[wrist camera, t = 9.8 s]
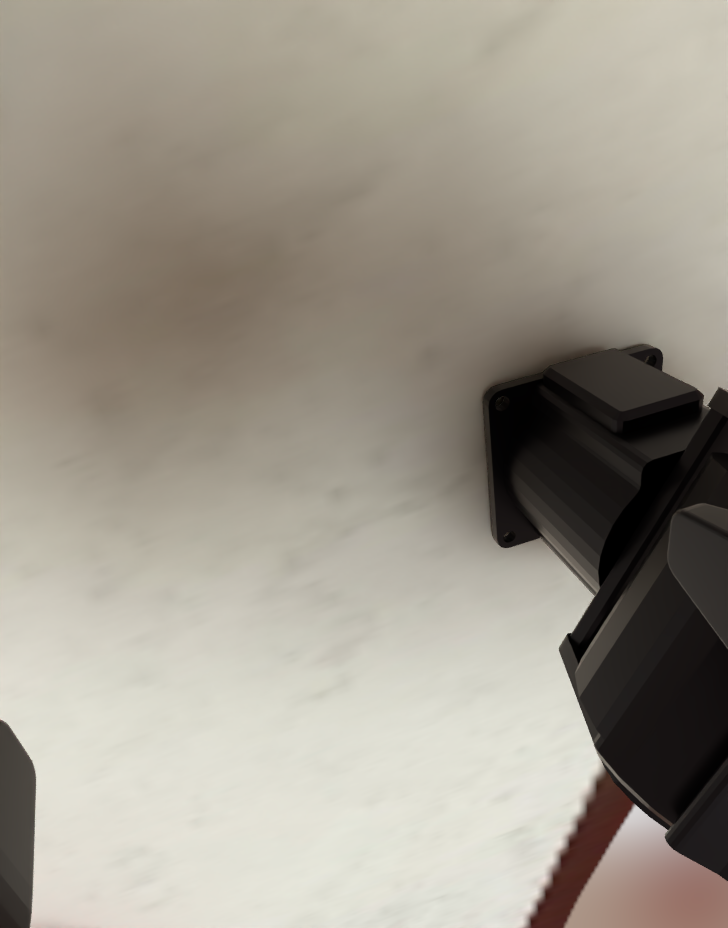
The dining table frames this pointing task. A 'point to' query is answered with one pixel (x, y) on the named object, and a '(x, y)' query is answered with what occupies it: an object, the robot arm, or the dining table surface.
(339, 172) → the dining table surface
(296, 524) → the dining table surface
